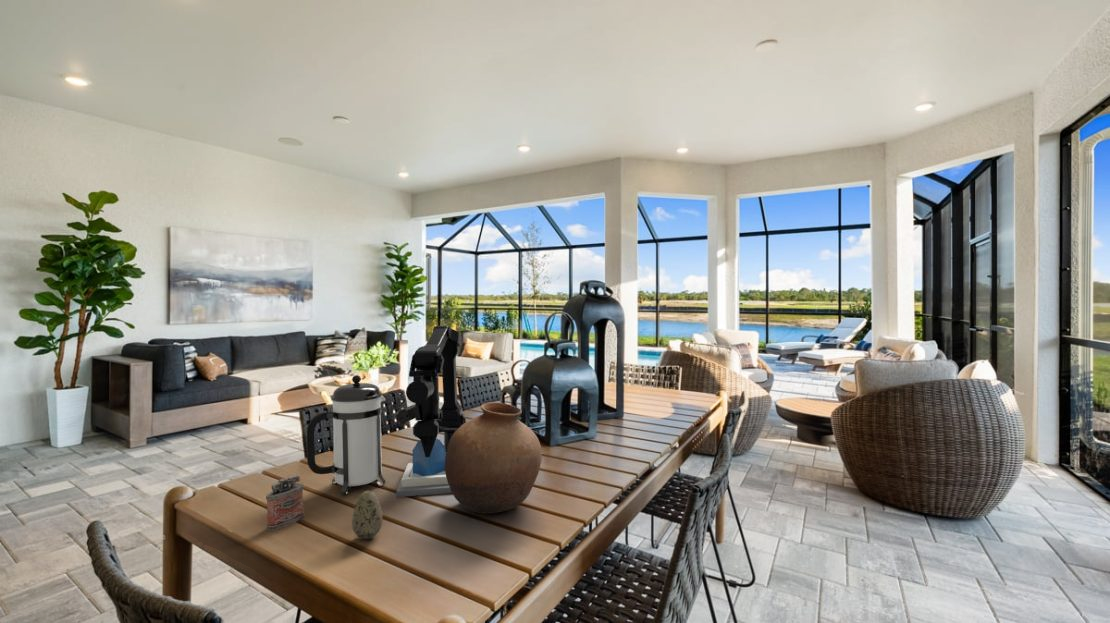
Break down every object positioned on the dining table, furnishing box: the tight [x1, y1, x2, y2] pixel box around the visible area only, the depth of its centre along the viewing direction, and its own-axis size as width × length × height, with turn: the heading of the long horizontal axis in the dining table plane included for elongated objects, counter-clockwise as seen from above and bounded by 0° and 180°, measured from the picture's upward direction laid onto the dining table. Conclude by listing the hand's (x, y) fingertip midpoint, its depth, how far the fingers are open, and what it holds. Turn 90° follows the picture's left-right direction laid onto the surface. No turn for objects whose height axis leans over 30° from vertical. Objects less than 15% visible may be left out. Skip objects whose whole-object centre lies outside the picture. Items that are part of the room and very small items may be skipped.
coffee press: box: [305, 374, 386, 495], centre depth 131 cm, size 17×16×30 cm
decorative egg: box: [351, 490, 383, 540], centre depth 102 cm, size 6×6×10 cm
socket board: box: [395, 462, 452, 498], centre depth 133 cm, size 18×15×4 cm
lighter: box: [265, 474, 305, 531], centre depth 109 cm, size 8×3×10 cm, turn 148°
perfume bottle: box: [412, 438, 446, 476], centre depth 133 cm, size 6×6×12 cm
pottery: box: [445, 401, 543, 514], centre depth 116 cm, size 23×23×25 cm
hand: (429, 451), depth 133 cm, fingers closed on perfume bottle, 9 cm apart
